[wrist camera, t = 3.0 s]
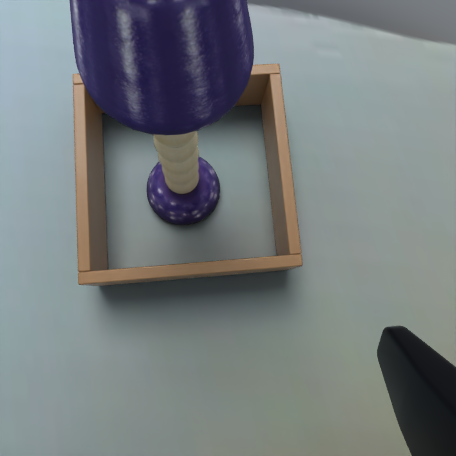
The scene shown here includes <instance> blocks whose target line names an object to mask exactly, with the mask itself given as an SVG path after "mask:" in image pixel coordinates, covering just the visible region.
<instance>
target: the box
mask: <svg viewBox="0 0 456 456" xmlns="http://www.w3.org/2000/svg"><path fill="white" fill-rule="evenodd" d="M73 101H74V139H75V176H76V214H77V251H78V272H79V273H78V284H79V285H92V286H104V285H116V284H128V283H140V282H151V281H163V280H175V279H187V278H198V277H210V276H222V275H234V274H246V273H257V272H269V271H281V270H289V269H293V268H296V267H300V266H302V265H303V264H302V255H301V246H300V237H299V229H298V220H297V211H296V203H295V194H294V186H293V177H292V168H291V160H290V151H289V142H288V134H287V125H286V116H285V108H284V99H283V91H282V82H281V75H280V66H279V64H263V65H253V67H252V71H251V75H250V78H249V82H248V85H247V87H246V89H245V91H244V92H243V94H242V95H241V97H240V99H239V100H238V102H237V103H236V104H235V105H234V106H244V105H261V111H262V121H263V130H264V139H265V149H266V158H267V168H268V177H269V187H270V196H271V205H272V215H273V224H274V234H275V243H276V253H277V256H269V257H257V258H245V259H232V260H220V261H208V262H196V263H184V264H172V265H160V266H148V267H135V268H123V269H111V270H108V254H107V228H106V203H105V177H104V151H103V125H102V114H103V113H105V112H104V111H103V110H102V109H101V108H100V107H99V106H98V105H97V104H96V103H95V101H94V100H93V99H92V97H91V96H90V95H89V93H88V91H87V89H86V87H85V86H84V84H83V81H82V79H81V77H80V74H73Z"/></svg>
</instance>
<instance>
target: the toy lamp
mask: <svg viewBox="0 0 456 456" xmlns="http://www.w3.org/2000/svg"><path fill="white" fill-rule="evenodd" d="M70 11H71V22H72V33H73V44H74V52H75V59H76V64H77V67H78V70H79V73H80V77H81V79H82V81H83V84H84V86H85V87H86V89H87V91H88V93H89V95H90V96H91V97H92V99H93V100H94V101H95V103H96V104H97V105H98V106H99V107H100V108H101V109H102V110H103V111H104V112H105V113H106V114H108V115H109V116H110V117H112V118H114V119H116V120H117V121H118V122H120V123H122V124H124V125H126V126H128V127H130V128H132V129H134V130H137V131H142V132H145V133H149V134H153V136H154V144H155V148H156V150H157V152H158V158H159V161H160V162H158V163H157V165H156V166H155V167H154V168H153V170H152V171H151V173H150V176H149V178H148V182H147V197H148V200H149V203H150V205H151V207H152V208H153V210H154V211H155V212H156V213H157V214H158V215H159V216H160V217H161V218H163V219H164V220H166V221H168V222H170V223H174V224H178V225H186V224H191V223H195V222H198V221H201V220H202V219H204V218H205V217H206V216H208V215H209V214H210V213H211V212H212V211H213V210H214V208H215V206H216V204H217V202H218V199H219V193H220V185H219V180H218V177H217V174H216V172H215V171H214V169H213V168H212V166H211V165H210V164H209V163H208V162H207V161H205V160H204V159H202V158H201V157H199V150H198V147H197V145H198V134H197V131H198V130H200V129H202V128H204V127H206V126H209V125H211V124H212V123H214V122H216V121H218V120H219V119H220V118H221V117H222V116H224V115H225V114H226V113H228V112H229V111H230V110H231V109H232V108H233V107H234V105H235V104H236V103H237V102H238V100H239V99H240V97H241V95H242V94H243V92H244V91H245V89H246V87H247V85H248V82H249V78H250V75H251V71H252V67H253V59H254V45H253V35H252V28H251V22H250V17H249V12H248V6H247V0H70Z"/></svg>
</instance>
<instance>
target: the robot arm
mask: <svg viewBox="0 0 456 456" xmlns="http://www.w3.org/2000/svg"><path fill="white" fill-rule="evenodd" d="M377 357H378V361H379V364H380V367H381V371H382V374H383V377H384V380H385V383H386V387H387V390H388V393H389V396H390V399H391V402H392V406H393V409H394V412H395V415H396V418H397V421H398V424H399V427H400V429H401V431H402V434H403V436H404V439H405V441H406V443H407V446H408V448H409V450H410V453H411V455H412V456H456V367H455V366H454V365H452V364H451V363H450V362H449V361H447V360H446V359H445V358H444V357H442V356H441V355H440V354H439V353H437V352H436V351H435V350H433V349H432V348H431V347H430V346H428V345H427V344H426V343H425V342H423V341H422V340H421V339H420V338H418V337H417V336H416V335H414V334H413V333H412V332H411V331H409V330H408V329H407V328H405V327H403V326H392V327H386V328H385V329H384V330H383V332H382V336H381V339H380V342H379V346H378V349H377Z"/></svg>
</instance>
